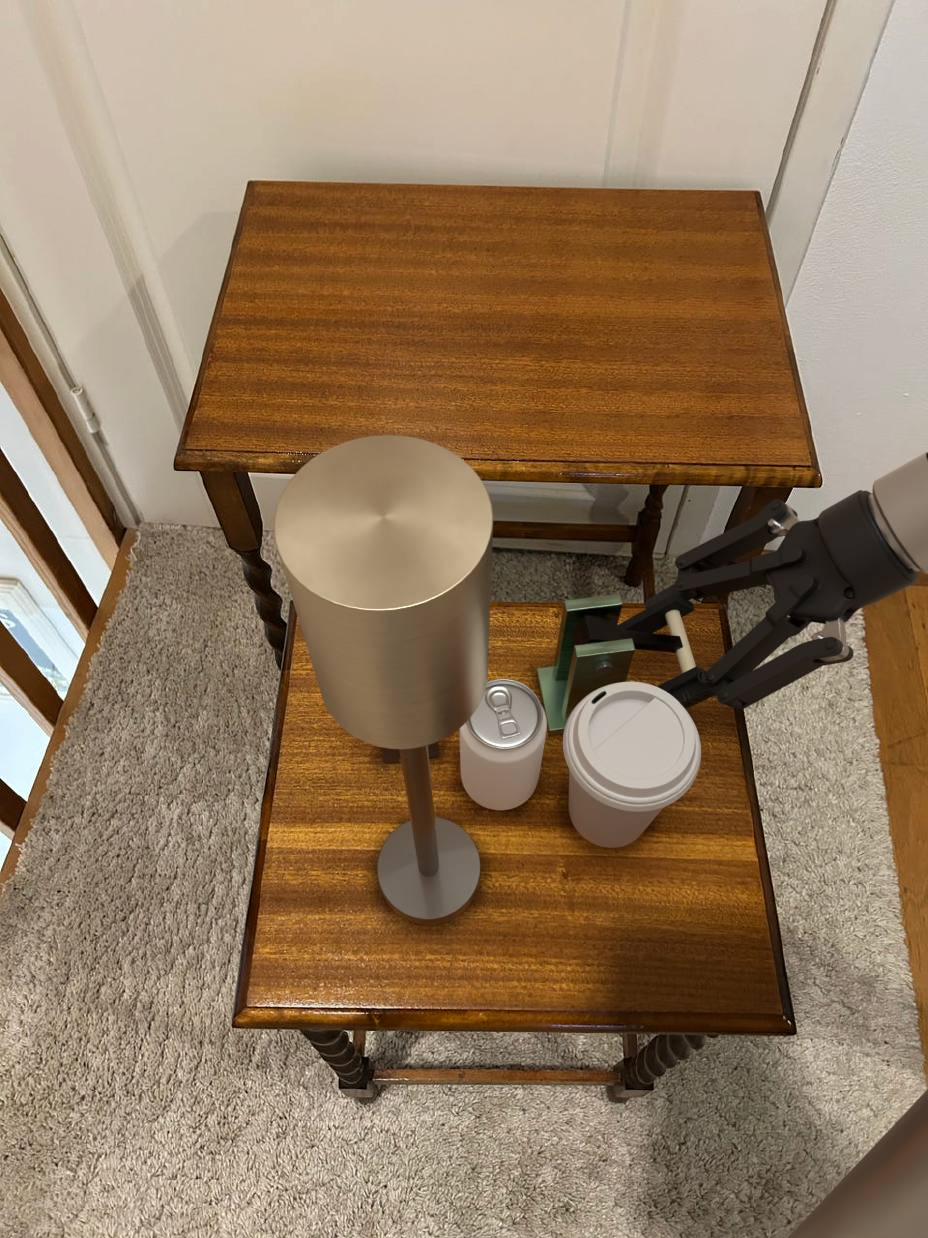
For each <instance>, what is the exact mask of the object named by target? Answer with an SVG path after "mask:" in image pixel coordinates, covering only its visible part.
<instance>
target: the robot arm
mask: <svg viewBox="0 0 928 1238" xmlns="http://www.w3.org/2000/svg"><path fill="white" fill-rule="evenodd" d="M871 491H872V492H871ZM871 491H869V490H862V489H859V490H857V491H856V492H854V493H852V494H850V495H848V496H847V497H845V498H843V499H841V500H839V501H838V502H836V503H834V504H832V505H831V506H829V507H827V508H826V509H824V510H822V511H821V512H820V513H819V515H818V516H817V517H816V518H813V519H809V520H808V519H806V520H800V519H799V518H798V517H799V516H798V515H799V514H798V513H797V511H796V510H795V509H793V508H792V507H790V506H789V505H788V504H787V503H786V502H784V501H783V500H781V499H780V498H773V499H772V500H771V501H770V502H769V503H767V504H766V505H765V506H764V507H763V508H762V509H761V510H760V511H759V512H758V513H757V514H756V515H755V516H753V517H751V518H749V519H748V520H746V521H744V522H742V523H740V524H738V525H736V526H734V527H733V528H730V529H728V530H726V531H724V532H723V533H721V534H718V535H716V536H715V537H713V538H711V539H708V540H707V541H704V542H703V543H701V544H699V545H698V546H695V547H694V548H691V549H690V550H688V551H685V552H684V553H682V554H680V555H678V556H677V557H676V558H675V561H674V566H675V567H676V568H677V577H676V579H675V581H674V582H673V584H671V585H669V586H668V587H666V588H665V589H663V590H661V591H659V592H657V593H655V594H654V595H653V596H651V597H649V598H648V599H647V600H646V601H645V602H644V605H645V609H643V610H641V611H640V612H637V613H636V614H634V615H633V616H631V617H629V618H627V619H625V620H624V621H623V622H621V623H618V627H619V630H627V631H637V632H646V633H656V632H659V631H660V630H662V629H664V628H665V627H668V624H667V621H666V617H665V614H666V613H667V612H669V611H671V610H678V611H679V612H680V615H681V619H683V618H684V617H685V616H687V615H690V614H691V613H693V612H695V610H696V609H695V606H694V603H693V602H692V601H690V600H693V601H696V602H697V603H702V600H703V599H707V598H711V597H716V596H720V595H725V594H729V593H735V592H738V591H743V590H748V589H752V588H757V587H763V586H771V588H772V589H773V600H774V603H773V604H772V605H771V606H770V607H769V608H768V609H767V610H766V611H765V616H764V618H762V619H761V620H760V621H759V622H758V623H757V624H755V626H754V627H753V628H751V630H749V631H748V633H746V634H745V635H744V636H743V637H742V638H741V639H740V640H739V641H737V642H736V643H735V644H734V645H733V646H732V648H730V649H729V650H728V651H727V652H726V653H725V654H724V655H722V656H721V657H720V658H719V659H718V660H717V661H716V662H715V663H714V664H713V665H712V666H711V667H710V668H709V669H707V670H706V669H704V668H702V667H700V666H697V665H696V667H694V668H692V669H690V670H688V671H686V672H684V673H682V672H681V673H680V674H678V675H676V676H674V677H672V678H671V679H668V680H667V681H664V682H662V683H661V684H659V685H655V686H656V687H658V688H660V689H662V690H664V691H666V692H667V693H669V694H670V695H672V696H673V697H674V698H675V699H676V700H677V701H678V702H679V703H680V704H681V705H682V706H683V707H684V708H685V709H690V708H693V707H694V706H696V705H699V704H700V703H702V702H705V701H707V700H708V699H711V698H713V697H715V696H716V700H717V701H718V702H719V703H720V704H722V705H725V706H727V707H730V708H732V709H734V710H736V711H742V710H745V709H747V708H749V707H750V706H752V705H754V704H755V703H757V702H759V701H762V700H763V699H765V698H767V697H768V696H770V695H773V694H775V693H776V692H778V691H779V690H782V689H783V688H786V686H789V685H791V684H792V683H794V682H796V681H798V680H800V679H801V678H804V677H805V676H807V675H809V674H811V673H813V672H815V671H816V670H818V669H820V668H821V667H824V666H831V665H835V664H836V665H837V664H843V663H847V662H850V661H851V660H853V657H854V653H855V652H854V649H853V647H852V646H849V645H848V644H847V634H846V623H847V622H849V621H850V620H851V619H852V617H853V616H854V614H856V613H857V612H858V611H859V610H861V609H862V608H864V607H867V606H870V605H874V604H875V603H878V602H880V601H882V600H884V599H886V598H888V597H890V596H892V595H895V594H897V593H898V592H901V591H902V590H904V589H906V588H909V587H910V586H912V585H915V584H916V583H917V582H918V579H919V578H920V572H921V573H923V574H925V575H928V452H924V453H923V454H921V455H919V456H917V457H916V458H913V459H912V460H910V461H908V462H907V463H905V464H903V465H901V466H899V467H897V468H896V469H894V470H891V471H890V472H888V473H886V474H884V475H883V476H881V477H879V478H877V479H876V480H874V481H873V484H872V489H871ZM781 537H783V539H782V541H781V542H780V544H779V546H778V547H777V549H776V551H772V552H767V553H763V554H760V555H759V554H758V555H755V556H751V557H750V559H749V560H746V561H742V562H738V563H733V564H730V565H727V564H729V563H730V562H733V561H735V560H737V559H739V558H740V557H743V556H745V555H747V554H749V553H751V552H753V551H755V550H757V549H760V548H761V547H763V546H765V545H767V544H770V543H771V542H773V541H774V540H775V539H778V538H781ZM724 565H725V566H724ZM812 623H815V624H823V625H824V627H823V628H822V629H821V630H820V631H817V632H814V633H813V634H812V635H811V639H812V640H808V641H804V642H802V643H800V644H798V645H796V646H794V647H791V648H790V649H788V650H787V651H785V652H783V653H781V654H780V655H778V656H776V657H774V658H772V659H770V660H768V661H767V662H766V663H764V664H762V663H763V662H764V661H765V660H766V659H768V658H769V657H770V656H771V655H772V654H773V653H774V652H775V651H776V650H778V649H779V648H780V647H781V646H782V645H783V644H784V643H785V642H786V641H787V640H789V638H791V637H795V636H797V635H799V634H800V633H801V632H803V631H804V630H805V629H806V628H807V627H808V626H809V625H811V624H812ZM761 664H762V665H761ZM787 1238H928V1088H927V1089H926V1090H925V1091H924V1092H923V1093H922V1095H920V1096H919V1098H917V1100H916V1101H914V1103H913V1104H912V1105H911V1106H910V1107H909V1108H908V1109H907V1110H906V1111H905V1112H904V1114H903V1115H902V1116H901V1117H900V1118H899V1119H898V1120H897V1121H896V1122H895V1123H894V1124H893V1125H892V1126H891V1127H890V1128H889V1129H888V1130H887V1132H886V1133H885V1134H883V1136H882V1137H880V1139H879V1140H878V1141H877V1142H876V1143H875V1144H874V1145H873V1146H872V1147H871V1149H870V1150H868V1152H866V1153H865V1155H864V1156H863V1157H861V1158H860V1160H859V1161H858V1162H857V1164H856V1165H854V1166H853V1167H852V1169H850V1171H849V1172H848V1173H846V1175H845V1176H844V1177H843V1178H842V1179H841V1180H840V1181H839V1182H838V1183H837V1185H836V1186H835V1187H834V1188H833V1189H832V1190H831V1191H830V1192H829V1193H828V1194H827V1195H826V1196H825V1197H824V1198H823V1199H822V1200H821V1202H820V1203H818V1204H817V1206H816V1207H814V1209H813V1210H812V1211H811V1212H809V1214H808V1215H807V1216H806V1217H805V1218H804V1219H803V1221H801V1223H800V1224H799V1225H798V1226H797V1227H796V1228H794V1230H793V1231H792V1232H791V1233H790V1234H789V1235H788V1237H787Z"/></svg>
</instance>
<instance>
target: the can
mask: <svg viewBox="0 0 928 1238" xmlns="http://www.w3.org/2000/svg"><path fill="white" fill-rule="evenodd" d="M546 737H547V721H546V715H545V712H544V709H543V707H542V702H541V700H540V699H539V697H538V695H537V694H536V693H535V691H533V690H532V689H531V688H530V687H529V686H528V685H527V684H524V683H523V682H521V681H518V680H515V679H511V678H496V679H492V680H487V684H486V689H485V692H484V695H483V698H482V700H481V702H480V704H479V706H478V708H477V709H476V711H475V712H474V714H473V715H472V716H471V718H470V719H469V720H468V721H467V722H466V723H465V724H464V725H463V726H462V727H460V728H459V758H460V759H459V761H460V762H459V766H460V777H461V783H462V786H463V788H464V790H465V792H466V793H467V795H468V797H470V799H471V800H472V801H474V802H475V803H476V804H478V805H479V806H481V807H483V808H486V809H488V810H493V811H508V810H513V809H515V808H518V807H519V806H521V805H523V804H525V803H526V802H527V801H528V800H529V799H530V798H531V796H532V795H533V794H534V792H535V790H536V788H537V786H538V783H539V779H540V773H541V767H542V762H543V756H544V750H545V744H546Z"/></svg>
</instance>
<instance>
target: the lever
mask: <svg viewBox="0 0 928 1238" xmlns="http://www.w3.org/2000/svg"><path fill="white" fill-rule="evenodd" d="M665 617H666V621H667V624H668V625H667V627H668V631H669V634H663V633H656V632H654V633H646V632H637V631H627V630H619V627H618V625H619V622H618V623H617V619H616V618H609V617H600V616H591V615H585V616H584V617H583V618H582V619H581V620H580V622H579V623H578V624H577V625H576V626H575V627H574V628H573V629H572V630H571V633H572V638H573V642H574V646H575V645H583V644H591V643H599V642H607V641H615V640H623V639H631V638H632V639H633V643H634V647H635V650H639V651H647V652H657V653H658V652H659V653H668V654H669V653H670V654H676V658H677V662H678V665H679V668H680V671H681V674H682V673H684V672H686V671H688V670H690V669H692V668H694V667H696V666H697V665H696V662H695V658H694V655H693V652H692V648H691V644H690V642H689V638H688V635H687V632H686V629H685V625H684V622H683V618H681V615H680V612H679V611H678V610H671V611H669V612H667V613H666V614H665Z"/></svg>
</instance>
